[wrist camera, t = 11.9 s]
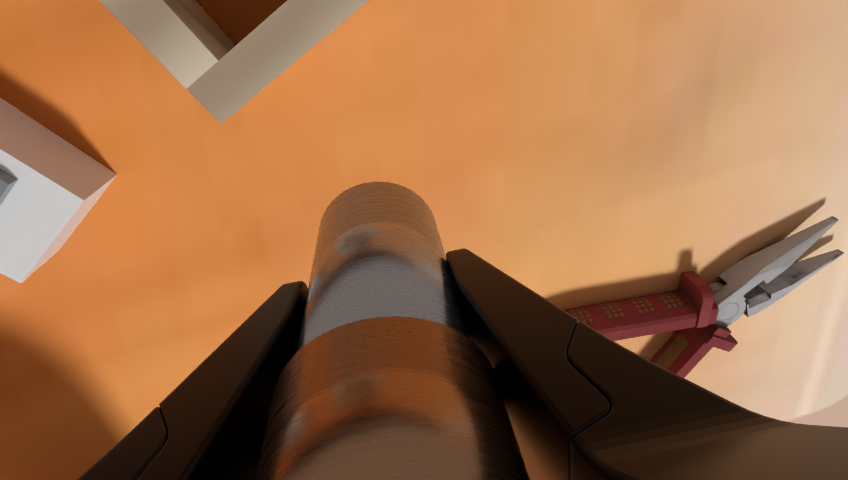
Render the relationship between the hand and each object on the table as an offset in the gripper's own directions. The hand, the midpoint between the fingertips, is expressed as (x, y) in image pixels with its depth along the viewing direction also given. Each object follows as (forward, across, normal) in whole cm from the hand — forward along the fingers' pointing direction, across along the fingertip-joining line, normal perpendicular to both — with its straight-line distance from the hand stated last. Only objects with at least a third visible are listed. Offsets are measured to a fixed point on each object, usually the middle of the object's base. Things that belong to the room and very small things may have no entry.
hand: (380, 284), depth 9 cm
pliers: (+13, -14, +17) cm, 26 cm away
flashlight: (+2, 0, 0) cm, 2 cm away
